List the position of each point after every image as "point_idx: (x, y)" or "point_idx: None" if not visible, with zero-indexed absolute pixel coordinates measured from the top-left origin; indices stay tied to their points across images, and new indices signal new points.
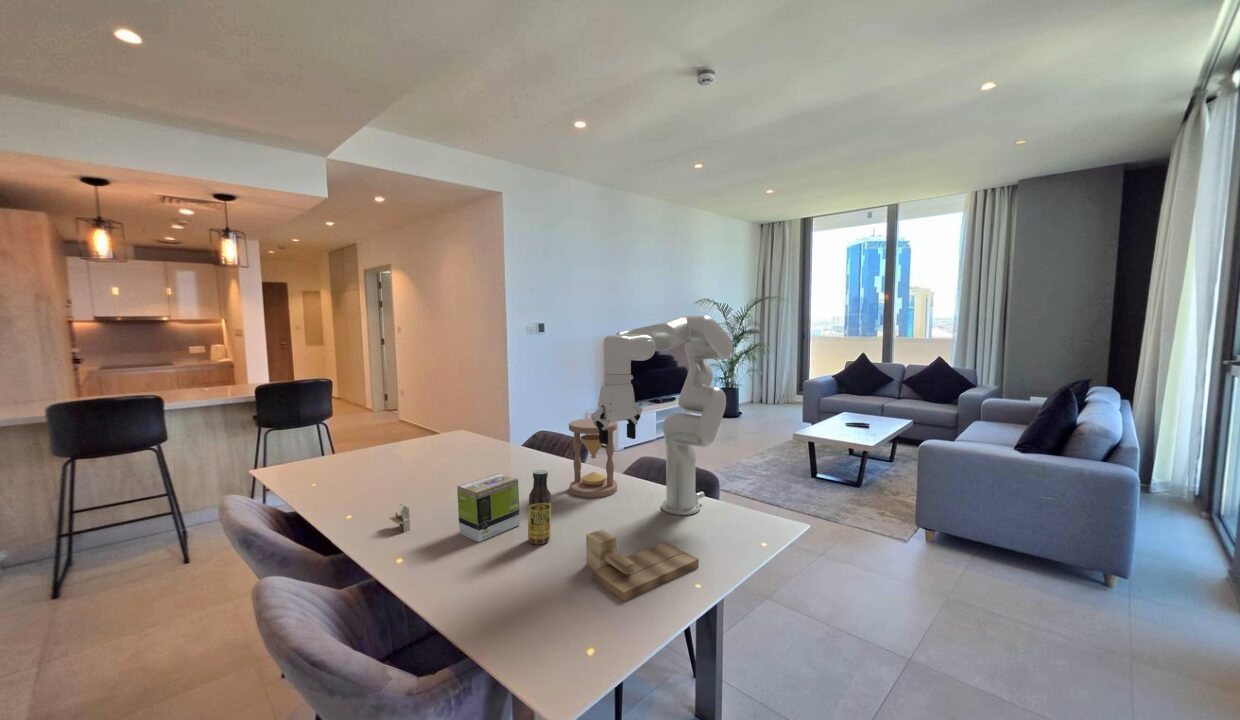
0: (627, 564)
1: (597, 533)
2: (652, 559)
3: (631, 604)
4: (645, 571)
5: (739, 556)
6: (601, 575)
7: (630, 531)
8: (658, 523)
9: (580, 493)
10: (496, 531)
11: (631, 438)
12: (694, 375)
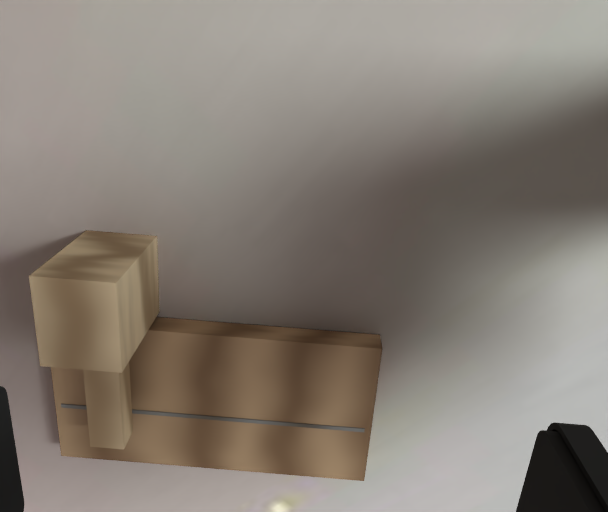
0: (99, 443)
1: (76, 299)
2: (251, 396)
3: (81, 457)
4: (181, 426)
5: (505, 502)
6: None
7: (403, 133)
8: (560, 161)
9: None
10: None
11: (525, 505)
12: None
